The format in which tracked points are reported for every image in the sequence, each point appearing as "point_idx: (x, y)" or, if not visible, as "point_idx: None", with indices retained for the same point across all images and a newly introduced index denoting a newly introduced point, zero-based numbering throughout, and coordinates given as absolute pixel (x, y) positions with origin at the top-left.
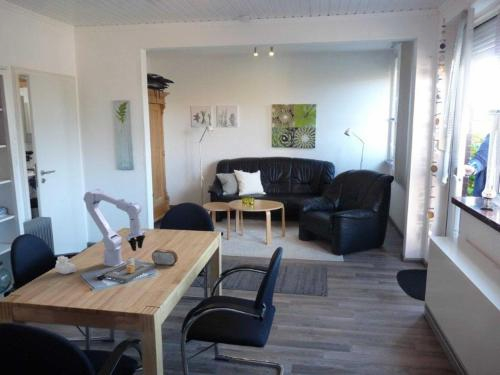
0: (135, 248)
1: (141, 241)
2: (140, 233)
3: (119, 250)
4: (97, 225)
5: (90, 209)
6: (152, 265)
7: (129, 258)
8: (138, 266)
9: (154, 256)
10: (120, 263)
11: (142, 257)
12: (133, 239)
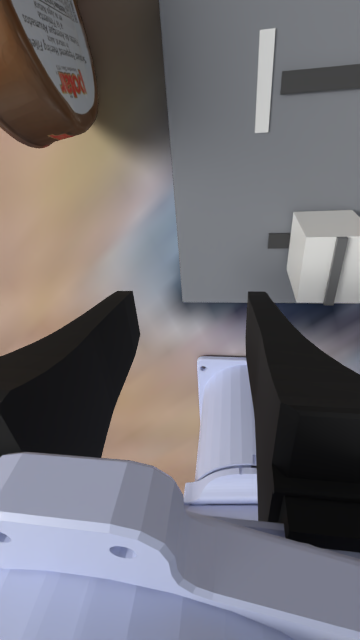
0: (273, 306)
1: (84, 350)
2: (31, 591)
3: (249, 456)
4: None
5: None
6: None
7: (335, 283)
8: (318, 138)
9: (66, 79)
10: (246, 365)
11: (62, 316)
12: (340, 483)
